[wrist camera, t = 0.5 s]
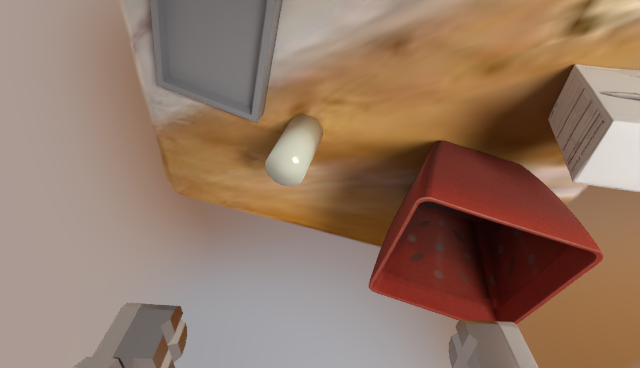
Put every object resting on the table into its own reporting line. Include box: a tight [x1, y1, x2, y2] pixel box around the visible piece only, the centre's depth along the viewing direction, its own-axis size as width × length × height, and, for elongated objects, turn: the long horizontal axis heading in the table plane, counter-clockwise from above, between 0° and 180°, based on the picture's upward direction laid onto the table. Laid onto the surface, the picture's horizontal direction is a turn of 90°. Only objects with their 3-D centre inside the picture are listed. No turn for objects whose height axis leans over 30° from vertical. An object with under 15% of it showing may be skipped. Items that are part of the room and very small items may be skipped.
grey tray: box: [150, 0, 282, 123], centre depth 45 cm, size 22×16×2 cm
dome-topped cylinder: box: [265, 114, 323, 186], centre depth 50 cm, size 6×6×10 cm
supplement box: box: [548, 64, 640, 192], centre depth 36 cm, size 7×7×13 cm
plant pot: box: [369, 141, 603, 324], centre depth 47 cm, size 19×19×17 cm
